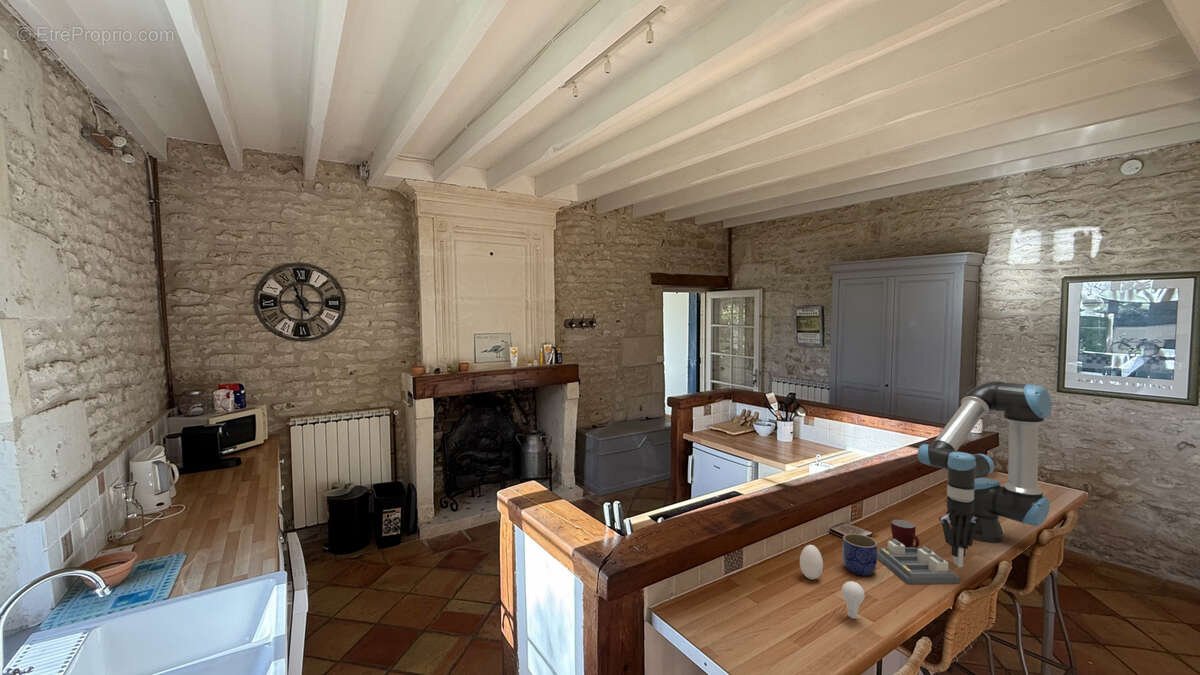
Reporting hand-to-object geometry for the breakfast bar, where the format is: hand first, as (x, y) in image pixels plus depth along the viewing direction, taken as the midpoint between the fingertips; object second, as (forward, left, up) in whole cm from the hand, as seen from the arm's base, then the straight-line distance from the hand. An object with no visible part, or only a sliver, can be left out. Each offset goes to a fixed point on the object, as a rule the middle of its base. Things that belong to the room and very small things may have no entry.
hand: (957, 565), depth 168 cm
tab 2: (+7, -6, -3) cm, 9 cm away
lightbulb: (+48, +21, -5) cm, 53 cm away
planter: (+31, -6, -5) cm, 32 cm away
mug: (+5, -20, -5) cm, 21 cm away
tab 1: (+14, -12, -3) cm, 19 cm away
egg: (+51, -1, -5) cm, 51 cm away
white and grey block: (+7, 0, -3) cm, 7 cm away
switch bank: (+11, -6, -5) cm, 13 cm away
